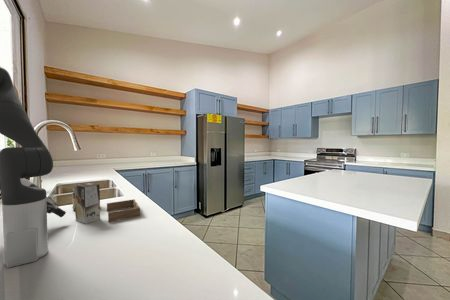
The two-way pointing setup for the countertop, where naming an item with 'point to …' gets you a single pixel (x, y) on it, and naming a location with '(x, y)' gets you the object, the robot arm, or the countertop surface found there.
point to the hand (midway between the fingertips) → (63, 214)
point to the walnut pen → (123, 213)
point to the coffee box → (87, 202)
